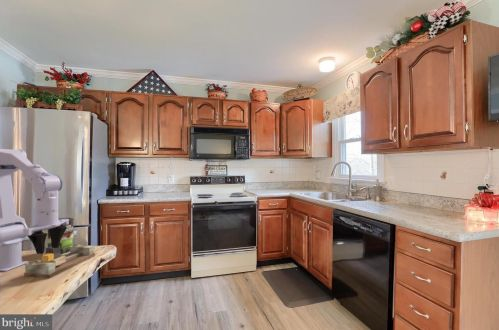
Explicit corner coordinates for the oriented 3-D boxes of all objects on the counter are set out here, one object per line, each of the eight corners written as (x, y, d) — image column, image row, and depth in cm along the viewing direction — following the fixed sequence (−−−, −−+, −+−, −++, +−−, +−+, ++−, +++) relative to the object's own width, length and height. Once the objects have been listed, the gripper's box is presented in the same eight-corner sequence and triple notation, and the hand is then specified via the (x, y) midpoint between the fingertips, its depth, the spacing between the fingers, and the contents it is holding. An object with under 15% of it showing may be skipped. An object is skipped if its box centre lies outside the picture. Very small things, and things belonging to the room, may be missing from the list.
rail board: (24, 276, 83) (24, 262, 83) (73, 254, 103) (73, 243, 103) (49, 278, 82) (49, 264, 82) (95, 255, 102) (95, 244, 102)
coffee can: (79, 249, 109) (79, 218, 109) (57, 258, 99) (57, 223, 99) (60, 247, 111) (60, 217, 111) (36, 256, 101) (36, 222, 101)
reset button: (42, 261, 82) (42, 255, 82) (47, 258, 84) (47, 253, 84) (48, 261, 82) (48, 255, 82) (53, 259, 84) (53, 253, 84)
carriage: (40, 265, 87) (40, 248, 87) (51, 260, 91) (51, 244, 91) (55, 266, 86) (55, 249, 86) (65, 261, 90) (65, 245, 90)
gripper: (36, 215, 75) (37, 259, 76) (76, 207, 90) (76, 243, 90) (17, 215, 76) (17, 258, 77) (59, 206, 91) (59, 243, 91)
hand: (47, 250), depth 83 cm, fingers open, 5 cm apart
